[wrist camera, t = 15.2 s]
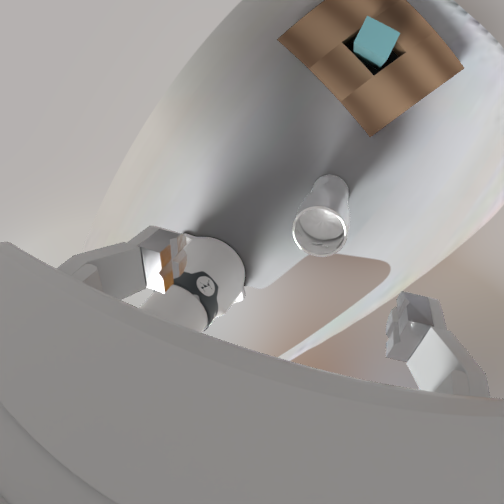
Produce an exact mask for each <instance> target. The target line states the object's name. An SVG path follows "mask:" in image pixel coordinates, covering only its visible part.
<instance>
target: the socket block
mask: <svg viewBox="0 0 504 504" xmlns="http://www.w3.org/2000/svg"><path fill="white" fill-rule="evenodd" d="M367 16H369V17H371V18H373V19H375V20H377V21H379V22H381V23H383V24H385V25H387V26H389V27H390V28H392V29H394V30H396V31H398V32H399V33H400V35H399V37H398V39H397V41H396V43H395V45H394V47H393V49H392V50H393V51H394V53H395V54H396V55H397V56H398V57H399V58H397V59H396V60H395V61H393V62H392V63H390V64H389V65H388V66H386V67H385V68H384V69H382V70H381V71H380V72H378V73H377V74H376V75H373V74H372V73H371V72H370V71H369V70H368V69H367V68H366V67H365V65H364V64H363V63H362V62H361V61H360V60H359V59H358V58H357V57H356V56H355V55H354V54H353V53H352V52H351V51H350V50H349V49H348V48H347V46H348V45H350V44H351V43H352V42H354V41H355V39H356V37H357V35H358V33H359V31H360V29H361V27H362V25H363V23H364V21H365V19H366V17H367ZM277 40H278V41H279V42H280V43H281V44H282V45H284V46H285V47H286V48H287V49H288V50H289V51H290V52H291V53H292V54H294V55H295V56H296V57H297V58H298V59H299V60H300V61H301V62H302V63H303V64H304V65H305V66H306V67H307V68H308V69H309V70H310V71H311V72H312V73H313V74H314V75H315V76H316V77H317V78H318V79H319V80H320V81H321V82H322V83H323V84H324V85H325V86H326V87H327V88H328V89H329V90H330V91H331V92H332V93H333V94H334V96H335V97H336V98H337V99H338V100H339V101H340V102H341V103H342V104H343V106H344V107H345V108H346V109H347V110H348V111H349V112H350V114H351V115H352V116H353V117H354V118H355V119H356V121H357V122H358V123H359V124H360V125H361V127H362V128H363V129H364V130H365V132H366V133H367V134H368V135H369V137H371V136H373V135H374V134H375V133H377V132H378V131H379V130H381V129H382V128H383V127H385V126H386V125H387V124H389V123H390V122H391V121H393V120H394V119H395V118H397V117H398V116H400V115H401V114H402V113H404V112H405V111H406V110H408V109H409V108H410V107H412V106H413V105H414V104H416V103H417V102H419V101H420V100H421V99H423V98H424V97H425V96H427V95H428V94H429V93H431V92H432V91H434V90H435V89H436V88H438V87H439V86H440V85H442V84H443V83H445V82H446V81H447V80H449V79H450V78H452V77H453V76H454V75H456V74H457V73H459V72H460V71H461V70H463V69H464V67H463V65H462V64H461V63H460V61H459V60H458V59H457V57H456V56H455V55H454V53H453V52H452V51H451V49H450V48H449V47H448V46H447V44H446V43H445V42H444V41H443V39H442V38H441V37H440V36H439V35H438V34H437V32H436V31H435V30H434V29H433V28H432V27H431V26H430V24H429V23H428V22H427V21H426V20H425V19H424V18H423V17H422V16H421V15H420V14H419V13H418V12H417V11H416V10H415V9H414V8H413V7H412V6H411V5H410V4H409V3H408V2H407V1H406V0H324V1H323V2H322V3H320V4H319V5H318V6H316V7H315V8H314V9H313V10H311V11H310V12H309V13H308V14H306V15H305V16H304V17H303V18H302V19H300V20H299V21H298V22H297V23H296V24H294V25H293V26H292V27H291V28H290V29H288V30H287V31H286V32H285V33H284V34H283V35H282V36H281V37H279V38H278V39H277Z"/></svg>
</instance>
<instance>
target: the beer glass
mask: <svg viewBox="0 0 504 504" xmlns="http://www.w3.org/2000/svg"><path fill="white" fill-rule="evenodd" d="M348 198H349V189H348V186H347V184H346V183H345V182H344V180H342V179H341V178H340V177H338V176H335V175H324V176H322V177H320V178H318V179H317V180H316V181H315V183H314V185H313V187H312V192H310V193H309V194H308V195H307V196H306V197H305V198H304V199H303V201H302V203H301V204H300V206H299V208H298V210H297V213H296V216H295V220H294V222H293V226H292V233H293V237H294V240H295V242H296V244H297V245H298V246H299V247H300V248H301V249H302V250H303V251H304V252H306V253H308V254H310V255H313V256H317V257H326V256H331V255H333V254H335V253H337V252H338V251H340V250H341V249H342V247H343V246H344V244H345V242H346V240H347V235H348V231H349V227H350V210H349V206H348V203H347V201H348Z"/></svg>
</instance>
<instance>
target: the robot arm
mask: <svg viewBox="0 0 504 504" xmlns="http://www.w3.org/2000/svg"><path fill="white" fill-rule="evenodd" d="M244 281H245V269H244V265H243V263H242V261H241V259H240V257H239V256H238V254H237V253H236V252H235V251H234V250H233V249H232V248H231V247H230V246H229V245H227V244H226V243H224V242H222V241H220V240H218V239H215V238H211V237H195V236H192V235H190V234H186V233H184V234H182V233H178V232H175V231H171V230H168V229H164V228H161V227H157V226H149V227H147V228H146V229H145V230H143V231H142V232H141V233H139V234H138V235H137V236H135V237H134V238H133V239H131V240H130V241H129V242H127V243H125V242H123V243H119V244H115V245H111V246H107V247H103V248H100V249H96V250H92V251H88V252H85V253H81V254H77V255H74V256H72V257H71V258H70V259H68V260H67V261H66V262H65V263H63V264H62V265H60V266H59V267H58V268H57V269H56V268H54V267H52V266H50V265H48V264H46V263H44V262H43V261H41V260H39V259H37V258H35V257H33V256H32V255H30V254H28V253H27V252H25V251H23V250H21V249H20V248H18V247H16V246H15V245H13V244H12V243H9V242H1V243H0V504H504V399H503V398H502V399H501V398H490V392H489V387H488V382H487V377H486V373H485V372H484V371H483V370H482V368H481V367H480V366H479V365H478V363H477V362H476V361H475V360H474V359H473V357H472V356H471V355H470V353H469V352H468V351H467V350H466V349H465V348H464V346H463V345H462V344H461V343H460V341H459V340H458V339H457V338H456V337H455V336H454V334H453V333H452V332H451V331H449V330H447V328H446V323H445V319H444V315H443V312H442V308H441V304H440V301H439V300H438V299H435V298H430V297H425V296H420V295H416V294H412V293H408V292H404V291H402V292H401V293H400V294H399V296H398V298H397V307H395V308H393V309H392V310H391V313H390V315H389V317H388V321H387V324H386V335H387V336H388V338H389V339H388V341H387V343H386V358H390V359H394V360H398V361H403V362H407V363H406V364H407V366H408V368H409V369H410V371H411V373H412V375H413V377H414V379H415V381H416V383H417V385H418V387H419V389H420V390H418V389H411V388H405V387H400V386H394V385H388V384H382V383H378V382H372V381H368V380H363V379H358V378H354V377H350V376H345V375H341V374H337V373H333V372H328V371H324V370H320V369H317V368H313V367H309V366H305V365H301V364H298V363H294V362H291V361H287V360H284V359H280V358H277V357H273V356H270V355H267V354H263V353H260V352H257V351H254V350H250V349H247V348H244V347H241V346H238V345H235V344H232V343H229V342H226V341H223V340H220V339H217V338H214V337H212V336H209V335H206V334H203V333H202V332H203V331H205V330H206V329H207V328H208V327H209V326H210V325H211V324H212V322H213V321H214V319H215V317H216V318H218V317H220V316H221V315H222V316H224V315H225V314H226V313H227V311H228V310H229V309H230V307H231V306H232V304H234V303H237V302H240V301H242V300H243V299H244V298H245V291H244ZM146 287H148V288H151V289H153V290H154V292H153V293H152V294H151V295H150V296H149V297H148V298H147V299H146V301H145V302H144V303H143V304H142V305H141V306H140V307H139V308H137V307H135V306H133V305H130V304H128V303H126V302H123V301H121V300H122V299H124V298H126V297H128V296H130V295H133V294H135V293H137V292H139V291H141V290H143V289H145V288H146Z"/></svg>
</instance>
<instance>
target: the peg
mask: <svg viewBox="0 0 504 504" xmlns="http://www.w3.org/2000/svg"><path fill="white" fill-rule="evenodd" d="M399 35H400V33H399V32H398V31H396V30H394V29H392V28H390V27H389V26H387V25H385V24H383V23H381V22H379V21H377V20H375V19H373V18H371V17H369V16H367V17H366V19H365V21H364V23H363V25H362V27H361V29H360V31H359V33H358V35H357V37H356V39H355V41H354V55H355V56H356V57H357V58H358V59H359V60H360V61H362V62H364V63H366V64H367V65H369V66H371V67H373V68H375V69H377V70H379V69H380V67H381V66H382V65H383V64H384V63H385V62H386V61H387V59H388V57H389V55H390V53H391V51H392V49H393V47H394V45H395V43H396V41H397V39H398V37H399Z"/></svg>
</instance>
